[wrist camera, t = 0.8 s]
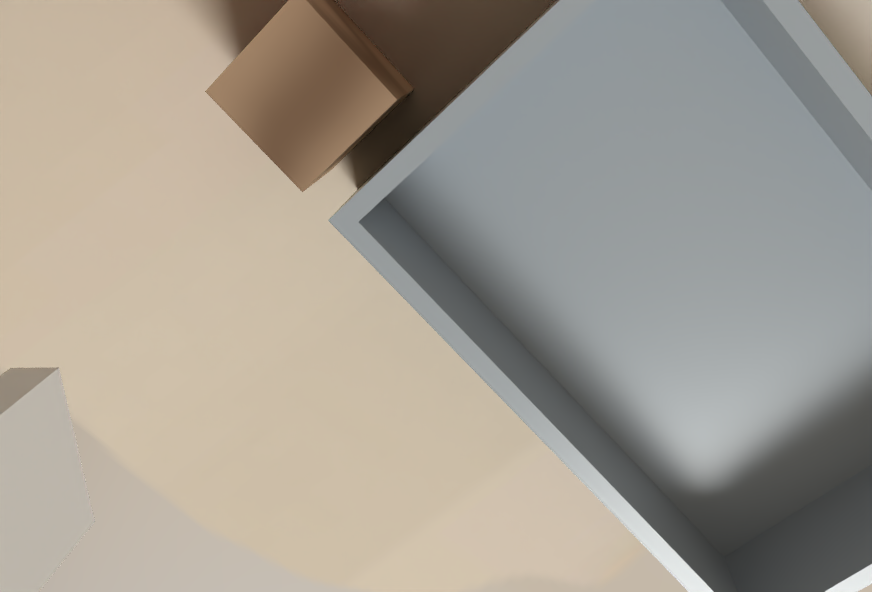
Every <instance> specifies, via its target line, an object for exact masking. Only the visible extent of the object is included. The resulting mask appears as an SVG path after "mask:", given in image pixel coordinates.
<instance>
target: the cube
mask: <svg viewBox="0 0 872 592" xmlns="http://www.w3.org/2000/svg"><path fill="white" fill-rule="evenodd" d="M412 90H414V88H413V87H412V86H411V85H410V84H409V83H408V82H407V81H406V79H405V78H404V77H403V76H402V75H401V74H400V73H399V72H398V71H397V70H396V68H395V67H394V66H393V65H392V64H391V63H390V62H389V61H388V60H387V58H386V57H385V56H384V55H383V54H382V53H381V52H380V51H379V50H378V49H377V47H376V46H375V45H374V44H373V43H372V42H371V41H370V40H369V39H368V38H367V36H366V35H365V34H364V33H363V32H362V31H361V30H360V29H359V28H358V26H357V25H356V24H355V23H354V22H353V21H352V20H351V19H350V18H349V17H348V15H347V14H346V13H345V12H344V11H343V10H342V9H341V8H340V7H339V5H338V4H337V3H336V2H335V1H334V0H288V1H287V2H286V4H285V5H284V6H283V7H282V8H281V9H280V10H279V11H278V12H277V13H276V15H275V16H274V17H273V18H272V19H271V20H270V21H269V22H268V23H267V24H266V25H265V27H264V28H263V29H262V30H261V31H260V32H259V33H258V34H257V35H256V36H255V38H254V39H253V40H252V41H251V42H250V43H249V44H248V45H247V46H246V47H245V48H244V50H243V51H242V52H241V53H240V54H239V55H238V56H237V57H236V58H235V59H234V61H233V62H232V63H231V64H230V65H229V66H228V67H227V68H226V69H225V70H224V71H223V73H222V74H221V75H220V76H219V77H218V78H217V79H216V80H215V81H214V82H213V84H212V85H211V86H210V87H209V88H208V89H207V90H206V91H205V92H206V93H207V94H208V95H209V96H210V97H211V98H212V99H213V100H214V101H215V102H216V103H217V104H218V105H219V106H220V107H221V108H222V109H223V110H224V111H225V112H226V113H227V115H228V116H229V117H230V118H231V119H232V120H233V121H234V122H235V123H236V124H237V125H238V126H239V127H240V128H241V129H242V130H243V131H244V132H245V133H246V134H247V135H248V136H249V137H250V138H251V139H252V140H253V141H254V142H255V143H256V144H257V145H258V147H259V148H260V149H261V150H262V151H263V152H264V153H265V154H266V155H267V156H268V157H269V158H270V159H271V160H272V161H273V162H274V163H275V164H276V165H277V166H278V167H279V168H280V169H281V170H282V171H283V172H284V173H285V174H286V175H287V176H288V177H289V179H290V180H291V181H292V182H293V183H294V184H295V185H296V186H297V187H298V188H299V189H300V190H301V191H302V192H303V191H304V190H306V189H307V188H308V187H310V186H311V185H312V184H313V183H315V182H316V181H317V180H319V179H320V178H321V177H323V176H324V175H325V174H326V173H328V172H329V171H330V170H332V169H333V168H334V167H335V166H336V165H337V164H338V163H339V162H340V161H341V160H342V159H343V158H344V157H345V156H346V155H347V154H348V153H349V152H350V151H351V150H352V149H353V148H354V147H355V146H356V145H357V144H358V143H359V142H360V141H361V140H362V139H363V138H364V137H365V136H366V135H367V134H368V133H369V132H371V131H372V130H373V129H374V128H375V127H376V126H377V125H378V124H379V123H380V122H381V121H382V120H383V119H384V118H385V117H386V116H387V115H388V114H389V113H390V112H391V111H392V110H393V109H394V108H395V107H396V106H397V105H398V104H399V103H400V102H401V101H402V100H403V99H404V98H405V97H406V96H407V95H408V94H409V93H410V92H411V91H412Z"/></svg>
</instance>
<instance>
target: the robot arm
mask: <svg viewBox="0 0 872 592" xmlns="http://www.w3.org/2000/svg"><path fill="white" fill-rule="evenodd" d="M94 522H95V519H94V515H93V510H92V506H91V502H90V498H89V494H88V489H87V485H86V481H85V477H84V472H83V468H82V464H81V459H80V455H79V451H78V447H77V442H76V438H75V434H74V430H73V425H72V421H71V417H70V413H69V408H68V404H67V400H66V396H65V391H64V387H63V383H62V379H61V374H60V370H59V368H10V369H9V370H7V371H6V372H5V373H3V374H2V375H1V376H0V592H39V591H40V590H41V589H42V588H43V586H44V585H45V584H46V583H47V581H48V580H49V579H50V578H51V576H52V575H53V574H54V573H55V571H56V570H57V569H58V568H59V566H60V565H61V564H62V562H63V561H64V560H65V559H66V557H67V556H68V555H69V554H70V553H71V551H72V550H73V549H74V547H75V546H76V545H77V544H78V542H79V541H80V540H81V539H82V537H83V536H84V535H85V534H86V532H87V531H88V530H89V529H90V527H91V526H92V525H93V524H94Z"/></svg>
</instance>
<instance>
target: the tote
mask: <svg viewBox="0 0 872 592" xmlns="http://www.w3.org/2000/svg"><path fill="white" fill-rule="evenodd" d="M328 221H329V222H330V223H331V224H332V225H333V226H334V227H335V228H336V229H337V230H338V231H339V232H340V233H341V234H342V235H343V236H344V237H345V238H346V239H347V240H348V241H349V242H350V243H351V244H352V245H353V246H354V247H355V249H356V250H357V251H358V252H359V253H360V254H361V255H362V256H363V257H364V258H365V259H366V260H367V261H368V262H369V263H370V264H371V265H372V266H373V267H374V268H375V269H376V270H377V271H378V272H379V273H380V274H381V275H382V276H383V277H384V278H385V279H386V280H387V281H388V283H389V284H390V285H391V286H392V287H393V288H394V289H395V290H396V291H397V292H398V293H399V294H400V295H401V296H402V297H403V298H404V299H405V300H406V301H407V302H408V303H409V304H410V305H411V306H412V307H413V308H414V309H415V310H416V311H417V312H418V313H419V314H420V315H421V317H422V318H423V319H424V320H425V321H426V322H427V323H428V324H429V325H430V326H431V327H432V328H433V329H434V330H435V331H436V332H437V333H438V334H439V335H440V336H441V337H442V338H443V339H444V340H445V341H446V342H447V343H448V344H449V345H450V346H451V347H452V348H453V349H454V351H455V352H456V353H457V354H458V355H459V356H460V357H461V358H462V359H463V360H464V361H465V362H466V363H467V364H468V365H469V366H470V367H471V368H472V369H473V370H474V371H475V372H476V373H477V374H478V375H479V376H480V377H481V378H482V379H483V380H484V381H485V382H486V384H487V385H488V386H489V387H490V388H491V389H492V390H493V391H494V392H495V393H496V394H497V395H498V396H499V397H500V398H501V399H502V400H503V401H504V402H505V403H506V404H507V405H508V406H509V407H510V408H511V409H512V410H513V411H514V412H515V413H516V414H517V415H518V416H519V418H520V419H521V420H522V421H523V422H524V423H525V424H526V425H527V426H528V427H529V428H530V429H531V430H532V431H533V432H534V433H535V434H536V435H537V436H538V437H539V438H540V439H541V440H542V441H543V442H544V443H545V444H546V445H547V446H548V447H549V448H550V449H551V450H552V452H553V453H554V454H555V455H556V456H557V457H558V458H559V459H560V460H561V461H562V462H563V463H564V464H565V465H566V466H567V467H568V468H569V469H570V470H571V471H572V472H573V473H574V474H575V475H576V476H577V477H578V478H579V479H580V480H581V481H582V482H583V483H584V484H585V486H586V487H587V488H588V489H589V490H590V491H591V492H592V493H593V494H594V495H595V496H596V497H597V498H598V499H599V500H600V501H601V502H602V503H603V504H604V505H605V506H606V507H607V508H608V509H609V510H610V511H611V512H612V513H613V514H614V515H615V516H616V517H617V518H618V520H619V521H620V522H621V523H622V524H623V525H624V526H625V527H626V528H627V529H628V530H629V531H630V532H631V533H632V534H633V535H634V536H635V537H636V538H637V539H638V540H639V541H640V542H641V543H642V544H643V545H644V546H645V547H646V548H647V549H648V550H649V551H650V552H651V554H653V556H654V557H655V558H656V559H657V560H658V561H659V562H660V563H661V564H662V565H663V566H664V567H665V568H666V569H667V570H668V571H669V572H670V573H671V574H672V575H673V576H674V577H675V578H676V579H677V580H678V581H679V582H680V583H681V584H682V585H683V586H684V588H685V589H687V591H688V592H858V591H859V590H861V589H863V588H865V587H866V586H868V585H870V584H872V96H871V94H870V93H869V92H868V90H867V89H866V88H865V87H864V85H863V84H862V83H861V81H860V80H859V79H858V77H857V76H856V75H855V74H854V72H853V71H852V70H851V68H850V67H849V66H848V64H847V63H846V62H845V61H844V59H843V58H842V57H841V55H840V54H839V53H838V51H837V50H836V49H835V48H834V46H833V45H832V44H831V42H830V41H829V40H828V38H827V37H826V36H825V35H824V33H823V32H822V31H821V29H820V28H819V27H818V25H817V24H816V23H815V22H814V20H813V19H812V18H811V16H810V15H809V14H808V12H807V11H806V10H805V9H804V7H803V6H802V5H801V3H800V2H799V1H798V0H556V1H555V2H554V3H553V4H552V5H551V6H550V7H549V8H548V9H547V10H546V11H545V12H544V13H543V14H542V15H541V16H540V17H538V18H537V19H536V20H535V21H534V22H533V23H532V24H531V25H530V26H529V27H528V28H527V29H526V30H525V31H524V32H523V33H522V34H521V35H520V36H519V37H517V38H516V39H515V40H514V41H513V42H512V43H511V44H510V45H509V46H508V47H507V48H506V49H505V50H504V51H503V52H502V53H501V54H500V55H499V56H497V57H496V58H495V59H494V60H493V61H492V62H491V63H490V64H489V65H488V66H487V67H486V68H485V69H484V70H483V71H482V72H481V73H480V74H479V75H478V76H476V77H475V78H474V79H473V80H472V81H471V82H470V83H469V84H468V85H467V86H466V87H465V88H464V89H463V90H462V91H461V92H460V93H459V94H458V95H457V96H455V97H454V98H453V99H452V100H451V101H450V102H449V103H448V104H447V105H446V106H445V107H444V108H443V109H442V110H441V111H440V112H439V113H438V114H437V115H436V116H434V117H433V118H432V119H431V120H430V121H429V122H428V123H427V124H426V125H425V126H424V127H423V128H422V129H421V130H420V131H419V132H418V133H417V134H416V135H415V136H413V137H412V138H411V139H410V140H409V141H408V142H407V143H406V144H405V145H404V146H403V147H402V148H401V149H400V150H399V151H398V152H397V153H396V154H395V155H394V156H392V157H391V158H390V159H389V160H388V161H387V162H386V163H385V164H384V165H383V166H382V167H381V168H380V169H379V170H378V171H377V172H376V173H375V174H374V175H372V176H371V177H370V178H369V179H368V180H367V181H366V182H365V183H364V184H363V185H362V186H361V187H360V188H359V189H358V190H357V191H356V192H355V193H354V194H353V195H352V196H351V197H350V198H349V199H348V200H347V201H346V202H345V203H344V204H343V205H342V206H341V208H340V209H339V210H338V211H337V212H336V213H335V214H334V215H333V216H332V217H331V218H330V219H329V220H328Z"/></svg>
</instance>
